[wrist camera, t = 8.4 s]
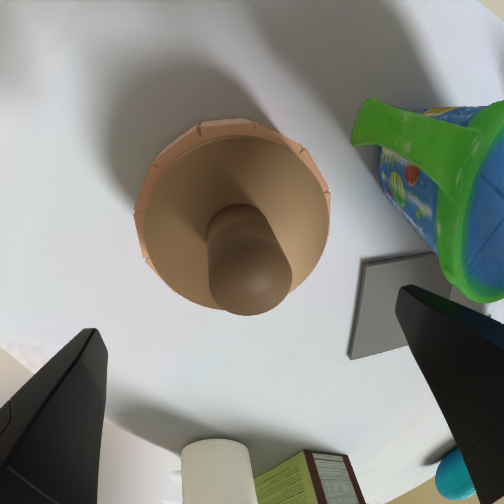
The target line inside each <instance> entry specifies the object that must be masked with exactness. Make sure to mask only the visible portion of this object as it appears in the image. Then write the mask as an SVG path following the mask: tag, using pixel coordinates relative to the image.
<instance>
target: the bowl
mask: <svg viewBox="0 0 504 504" xmlns="http://www.w3.org/2000/svg"><path fill="white" fill-rule="evenodd" d="M233 135H243V136H252V137H257V138H261V139H265V140H267V141H270V142H272V143H275V144H277V145H279V146H280V147H282V148H284V149H286V150H287V151H289V152H290V153H292V154H294V155H295V156H296V157H297V158H299V159H300V160H301V161H302V162H303V163H304V164H305V165H306V166H307V167H308V168H309V169H310V170H311V171H312V173H313V174H314V175H315V177H316V178H317V180H318V181H319V183H320V186H321V188H322V190H323V192H324V195H325V198H326V201H327V206H328V212H329V225H330V192H329V191H327V190H328V189H329V187H328V185H327V183H326V182H325V180H324V178H323V176H322V175H321V173H320V171H319V170H318V168H317V166H316V164H315V163H314V161H313V159H312V158H311V156H310V154H309V153H308V151H307V149H305V148H303V146H302V145H300V144H298V143H296V142H295V141H293V140H291V139H289V138H287V137H285V136H283V135H281V134H279V133H277V132H275V131H273V130H271V129H269V128H267V127H265V126H263V125H261V124H259V123H256V122H254V121H251V120H249V119H244V118H232V119H221V120H212V121H203V122H201V124H200V125H199V124H198V123H197V124H196V125H194V126H193V127H192V128H190V129H189V130H187V131H186V132H185V133H183V134H182V135H181V136H179V137H178V138H177V139H175V140H174V141H173V142H171V143H170V144H169V145H167V146H166V147H165V148H164V149H163V150H162V152H161V153H160V154H159V155H158V156H157V157H156V158H155V160H154V161H153V162H152V164H151V165H150V167H149V170H148V172H147V175H146V178H145V180H144V183H143V186H142V188H141V191H140V194H139V197H138V199H137V202H136V205H135V208H134V210H135V213H134V220H135V225H136V229H137V234H138V238H139V243H140V247H141V251H142V256H143V258H145V257H146V261H145V262H146V263H147V264H148V265H149V266H150V267H151V268H152V269H153V271H154V272H155V273H156V274H157V275H158V276H159V277H160V275H159V274H158V272H157V271H156V269H155V268H154V266H153V264H152V262H151V259H150V257H149V255H148V251H147V248H146V244H145V237H144V219H145V212H146V208H147V204H148V201H149V198H150V196H151V194H152V192H153V189H154V187H155V186H156V184H157V182H158V180H159V179H160V177H161V176H162V174H163V173H164V171H165V170H166V169H167V168H168V166H169V165H170V164H171V163H172V162H173V161H174V160H175V159H176V158H178V157H179V156H180V155H181V154H182V153H184V152H185V151H187V150H188V149H190V148H191V147H193V146H195V145H197V144H200V143H202V142H204V141H207V140H210V139H214V138H217V137H223V136H233ZM328 236H329V229H328ZM327 240H328V239H327ZM327 240H326V242H327ZM160 278H161V277H160ZM161 279H162V278H161ZM162 280H163V279H162ZM163 281H164V280H163ZM164 282H165V281H164ZM165 283H166V282H165ZM167 285H168V284H167ZM168 286H169V285H168ZM169 287H170V286H169ZM170 288H171V287H170ZM171 289H172V288H171ZM172 290H173V289H172ZM173 291H174V290H173ZM174 292H175V291H174ZM178 295H180V294H178Z"/></svg>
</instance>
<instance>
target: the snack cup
mask: <svg viewBox="0 0 504 504" xmlns="http://www.w3.org/2000/svg"><path fill="white" fill-rule="evenodd" d="M351 143H352V145H353V146H355V147H358V146H362V145H371V144H373V145H379V146H380V158H379V177H380V180H381V183H382V186H383V192H384V194H385V195H386V197H387V199H388V200H389V201H390V202H391V203H392V204H393V205H394V206H395V208H396V209H397V210H398V211H399V212H400V213H401V215H402V216H403V217H404V218H405V219H406V220H407V221H408V222H409V223H410V224H411V226H412V227H413V228H414V229H415V231H416V232H417V233H418V234H419V235H420V237H421V238H422V239H423V240H424V241H425V242H426V243H427V245H428V246H429V247H430V248H431V249H432V250H433V251H434V252H435V253H436V255H437V256H438V257H439V262H440V265H441V268H442V271H443V274H444V276H445V278H446V279H447V280H448V281H449V282H450V283H451V284H453V285H454V286H455V287H456V288H457V289H458V290H459V291H461V292H462V293H463V294H464V295H465V296H467V297H468V298H469V299H470V300H471V301H474V302H478V303H491V302H495V301H498V300H500V299H503V298H504V100H503V101H499V102H496V103H492V104H491V105H489V106H479V107H466V106H464V107H447V108H435V109H424V110H419V111H413V112H409V111H405V110H402V109H399V108H395V107H391V106H389V105H387V104H385V103H383V102H381V101H379V100H377V99H375V98H370V99H368V100H366V101H365V103H364V104H363V106H362V107H361V109H360V111H359V114H358V117H357V120H356V123H355V126H354V128H353V131H352V135H351Z"/></svg>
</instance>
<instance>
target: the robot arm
mask: <svg viewBox="0 0 504 504" xmlns="http://www.w3.org/2000/svg"><path fill="white" fill-rule="evenodd" d="M395 314H396V317H397V319H398V322H399V324H400V326H401V329H402V331H403V333H404V336H405V338H406V340H407V343H408V345H409V348H410V350H411V352H412V354H413V356H414V358H415V360H416V362H417V364H418V366H419V368H420V369H421V371H422V373H423V375H424V377H425V379H426V381H427V383H428V385H429V387H430V389H431V391H432V393H433V395H434V397H435V399H436V401H437V403H438V405H439V407H440V409H441V411H442V413H443V415H444V418H445V420H446V422H447V424H448V426H449V428H450V430H451V433H452V435H453V437H454V439H455V442H456V444H457V446H458V448H459V451H460V453H461V455H462V457H463V461H464V463H465V465H466V468H467V470H468V473H469V475H470V478H471V480H472V483H473V485H474V488H475V491H476V493H477V496H478V499H479V501H480V504H493V503H494V502H495V501H497V500H499V499H500V498H502V497H503V496H504V324H502V323H501V322H498V321H496V320H494V319H492V318H490V317H487V316H485V315H483V314H481V313H478V312H476V311H474V310H471V309H469V308H467V307H465V306H462V305H460V304H458V303H455V302H453V301H451V300H449V299H446V298H444V297H442V296H439V295H437V294H435V293H432V292H430V291H427V290H425V289H423V288H420V287H418V286H416V285H413V284H409V285H404V286H401V287H400V289H399V291H398V296H397V300H396V305H395ZM107 363H108V352H107V348H106V346H105V344H104V342H103V339H102V337H101V335H100V333H99V331H98V329H96V328H85V329H83V330H82V331H81V332H79V333H78V334H77V335H76V336H75V337H74V338H73V339H72V340H71V341H70V342H69V343H68V344H66V345H65V346H64V347H63V348H62V349H61V350H60V351H59V352H58V353H57V354H56V355H55V356H54V357H52V358H51V359H50V360H49V361H48V362H47V363H46V364H45V365H44V366H43V367H42V368H41V369H40V370H39V371H38V372H37V373H36V374H35V375H34V376H33V377H32V378H31V379H30V380H29V381H28V382H26V384H24V385H23V386H22V388H20V390H18V391H17V392H16V393H15V395H13V396H12V397H11V398H10V400H8V401H7V402H6V403H5V404H4V405H3V406H2V407H1V408H0V504H97V489H98V472H99V471H98V470H99V458H100V447H101V436H102V428H103V419H104V411H105V403H106V384H107Z"/></svg>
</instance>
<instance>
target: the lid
mask: <svg viewBox="0 0 504 504" xmlns="http://www.w3.org/2000/svg"><path fill="white" fill-rule="evenodd" d="M328 229H329V212H328V206H327V201H326V198H325V195H324V192H323V190H322V188H321V186H320V183H319V181H318V180H317V178H316V177H315V175H314V174H313V173H312V171H311V170H310V169H309V168H308V167H307V166H306V165H305V164H304V163H303V162H302V161H301V160H300V159H299V158H297V157H296V156H295V155H294V154H292V153H290V152H289V151H287V150H286V149H284V148H282V147H280V146H279V145H277V144H275V143H272V142H270V141H267V140H265V139H261V138H257V137H252V136H243V135H233V136H223V137H217V138H214V139H210V140H207V141H204V142H202V143H200V144H197V145H195V146H193V147H191V148H190V149H188V150H187V151H185V152H184V153H182V154H181V155H180V156H179V157H178V158H176V159H175V160H174V161H173V162H172V163H171V164H170V165H169V166H168V168H167V169H166V170H165V171H164V173H163V174H162V176H161V177H160V179H159V180H158V182H157V184H156V186H155V187H154V189H153V192H152V194H151V196H150V198H149V201H148V204H147V208H146V212H145V219H144V237H145V244H146V248H147V251H148V255H149V257H150V259H151V262H152V264H153V266H154V268H155V269H156V271H157V272H158V274H159V275H160V277H161V278H162V279H163V280H164V281H165V282H166V284H168V285H169V286H170V287H171V288H172V289H173V290H174V291H175V292H177V293H178V294H180V295H181V296H183V297H184V298H186V299H188V300H190V301H192V302H194V303H197V304H199V305H202V306H205V307H209V308H213V309H219V310H226V311H228V312H230V313H233V314H237V315H243V316H250V315H257V314H261V313H264V312H267V311H269V310H271V309H273V308H274V307H276V306H277V305H278V304H279V303H281V302H282V300H283V299H284V298H285V297H286V295H287V294H288V293H290V292H291V291H293V290H294V289H295V288H296V287H298V286H299V285H300V284H301V283H302V282H303V281H304V280H305V279H306V278H307V277H308V276H309V274H310V273H311V272H312V270H313V269H314V268H315V266H316V265H317V263H318V261H319V259H320V257H321V255H322V253H323V250H324V247H325V245H326V240H327V236H328Z"/></svg>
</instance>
